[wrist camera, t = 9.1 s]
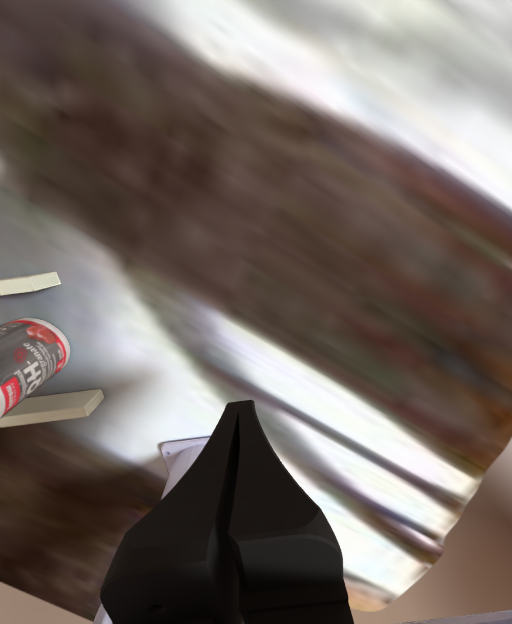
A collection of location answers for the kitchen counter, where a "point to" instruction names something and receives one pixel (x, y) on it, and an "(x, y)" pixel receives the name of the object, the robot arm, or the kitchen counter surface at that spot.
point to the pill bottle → (28, 358)
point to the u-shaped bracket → (50, 404)
